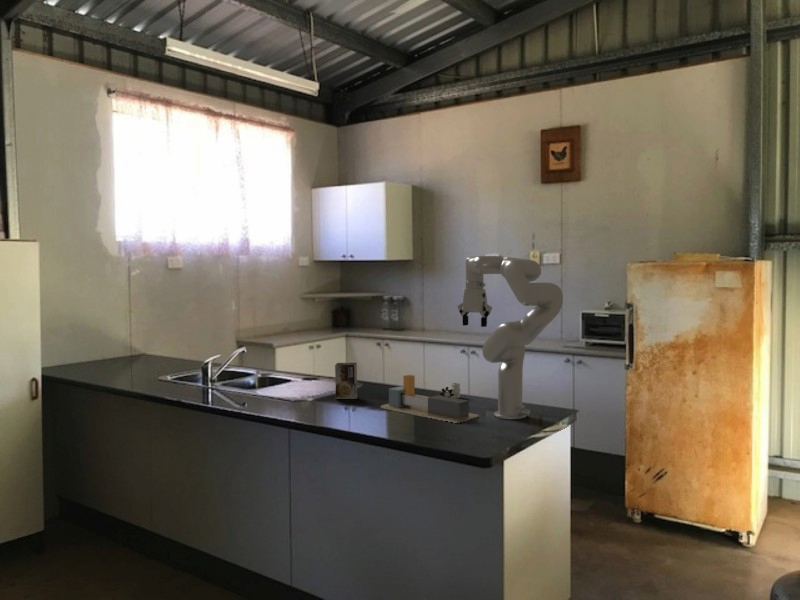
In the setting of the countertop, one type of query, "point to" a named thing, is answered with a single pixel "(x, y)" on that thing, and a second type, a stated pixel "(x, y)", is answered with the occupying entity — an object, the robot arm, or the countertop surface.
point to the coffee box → (346, 380)
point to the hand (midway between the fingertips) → (474, 325)
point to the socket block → (396, 396)
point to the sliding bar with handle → (412, 394)
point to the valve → (452, 391)
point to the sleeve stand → (439, 409)
